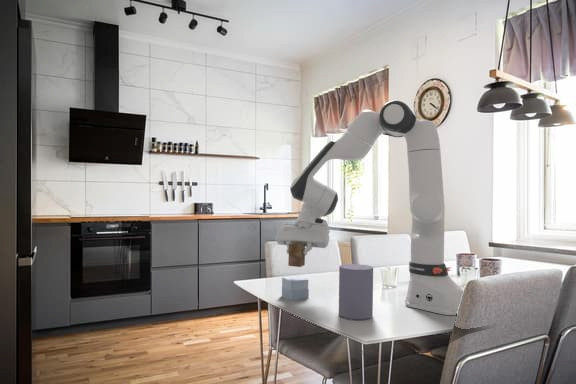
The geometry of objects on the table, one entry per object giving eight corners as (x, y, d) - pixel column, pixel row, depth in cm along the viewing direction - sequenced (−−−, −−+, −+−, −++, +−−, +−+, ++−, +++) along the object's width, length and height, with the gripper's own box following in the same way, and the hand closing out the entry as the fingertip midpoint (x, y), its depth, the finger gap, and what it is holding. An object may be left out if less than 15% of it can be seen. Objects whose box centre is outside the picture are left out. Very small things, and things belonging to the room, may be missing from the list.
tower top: (308, 289, 152) (308, 279, 153) (290, 290, 149) (290, 280, 149) (298, 285, 159) (299, 276, 159) (282, 287, 156) (282, 277, 156)
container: (379, 316, 131) (379, 267, 131) (359, 322, 124) (360, 270, 124) (352, 309, 138) (352, 263, 138) (331, 315, 131) (332, 266, 131)
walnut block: (304, 265, 155) (305, 243, 156) (299, 267, 151) (300, 244, 151) (293, 264, 157) (293, 242, 157) (288, 265, 153) (288, 243, 153)
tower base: (308, 298, 153) (308, 289, 153) (292, 301, 149) (292, 291, 149) (297, 294, 159) (298, 285, 159) (281, 296, 155) (281, 287, 155)
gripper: (279, 218, 165) (267, 246, 156) (330, 220, 157) (320, 250, 148) (284, 229, 169) (272, 256, 160) (333, 232, 161) (324, 261, 152)
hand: (296, 253), depth 154 cm, fingers closed on walnut block, 4 cm apart
